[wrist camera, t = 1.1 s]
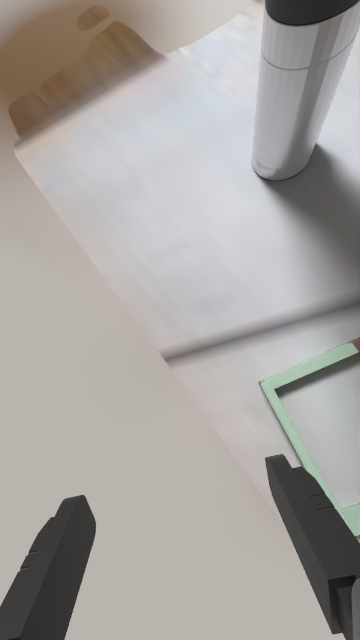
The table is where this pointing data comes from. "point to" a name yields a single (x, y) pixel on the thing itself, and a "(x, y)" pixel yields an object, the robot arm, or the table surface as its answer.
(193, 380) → the table surface
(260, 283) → the table surface
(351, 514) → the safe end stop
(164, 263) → the table surface
